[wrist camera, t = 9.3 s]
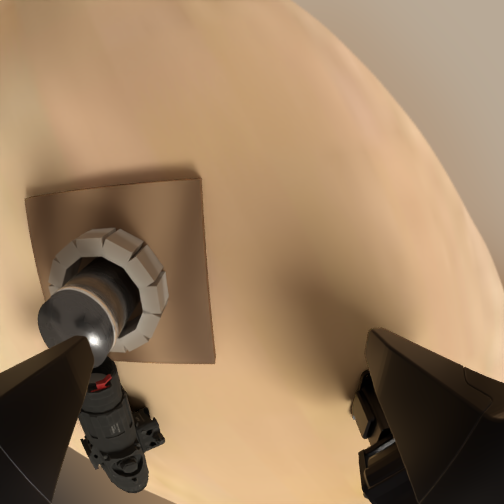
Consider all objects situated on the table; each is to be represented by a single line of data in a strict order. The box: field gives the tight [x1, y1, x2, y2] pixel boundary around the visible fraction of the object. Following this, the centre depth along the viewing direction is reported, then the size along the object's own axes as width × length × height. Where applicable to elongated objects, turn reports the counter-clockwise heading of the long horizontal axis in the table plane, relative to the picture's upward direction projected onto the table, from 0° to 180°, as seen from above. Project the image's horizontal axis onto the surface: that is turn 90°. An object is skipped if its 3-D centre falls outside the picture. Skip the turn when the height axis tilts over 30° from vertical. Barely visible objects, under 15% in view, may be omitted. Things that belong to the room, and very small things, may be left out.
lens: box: [38, 256, 141, 368], centre depth 18 cm, size 5×5×7 cm
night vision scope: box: [78, 356, 165, 493], centre depth 23 cm, size 8×18×10 cm
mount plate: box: [25, 178, 216, 364], centre depth 20 cm, size 14×14×4 cm
